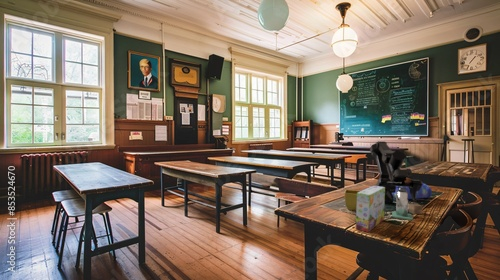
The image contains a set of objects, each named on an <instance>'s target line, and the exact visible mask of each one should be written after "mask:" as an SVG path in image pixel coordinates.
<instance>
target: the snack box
mask: <svg viewBox="0 0 500 280" xmlns="http://www.w3.org/2000/svg"><path fill="white" fill-rule="evenodd" d="M359 191H360V192H358V193H357V211H355V212H356V217H355V222H356V223H355V230H358V231H363V232H365V233H369V232H371V231H372V230H373V229H374V228H376V226H378V225H379V224H381V223H382V222H383V221H384V220H385V187H381V186H377V185H372V186H370V187H367V188H364V189H363V190H359Z"/></svg>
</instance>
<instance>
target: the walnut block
mask: <svg viewBox="0 0 500 280" xmlns="http://www.w3.org/2000/svg"><path fill="white" fill-rule="evenodd" d="M408 204H409V210H408V212H409V214H413V215H423V208H424V207H423V205H420V204H418V203H408Z"/></svg>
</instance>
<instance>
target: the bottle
mask: <svg viewBox="0 0 500 280" xmlns="http://www.w3.org/2000/svg"><path fill="white" fill-rule="evenodd" d="M395 200H396V201H395V202H396V203H395V205H396V206H395V207H396V208H395V210H396V211H395V212H396V215H398V216H403V217H406V216H408V214H409V213H408V212H409V210H408V204H409V199H408V192H407V191H406V188H398V191H396V198H395Z"/></svg>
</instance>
